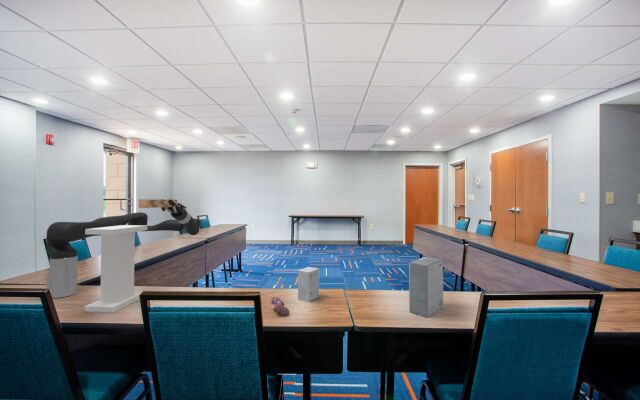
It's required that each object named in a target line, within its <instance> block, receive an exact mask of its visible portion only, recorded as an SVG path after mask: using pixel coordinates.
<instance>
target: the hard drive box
mask: <svg viewBox="0 0 640 400" xmlns="http://www.w3.org/2000/svg"><path fill="white" fill-rule="evenodd" d="M443 265H444V264H443V259H442V258H437V257H431V256H424V257H423V256H422V257H421V258H418V259H415V260H413V261H410V262H408V290H409V291H408V298H409V299H408V301H409V302H408V303H409V305H408V309H409V310H408V311H409V313H410V314H413V315H417V316H420V317H423V318H429V317H430V316H432V315H433V314H436V312H438V311H439V310H441V309H442V308H444V270H443V269H444V266H443Z"/></svg>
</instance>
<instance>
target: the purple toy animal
mask: <svg viewBox="0 0 640 400" xmlns="http://www.w3.org/2000/svg"><path fill="white" fill-rule="evenodd" d="M270 300H271V301H270V305H274V308H275V310H276V313H278V315H280V314H281V315H283V316H289V314H290V312H291V311H290V310H289V309H288V307H285V303H284V301H283V300H281V298H280V297H278V296H276V295H275V296H272V297H271V298H270Z"/></svg>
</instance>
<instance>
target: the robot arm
mask: <svg viewBox="0 0 640 400" xmlns="http://www.w3.org/2000/svg"><path fill="white" fill-rule="evenodd" d="M160 200H164V199H163V198H161V199H160ZM168 200H169V201H168V203H169V204H170V205H171V206H173V207H160V209H161V211H162V212H166V211H167V212H168V213H170V216H171V217H172V218H173V219H167V220H164V221H161V222H159V223H156V224H154V225H148V221H149V218H148V217H149V216H148V214H147V213H146V212H141V211H139V212H131V213H127V214H123V215H122V214H121V215H115V216H105V217H98V218H96V219H94V220H92V221H84V222H83V221H79V222H78V221H77V222H76V221H75V222H74V221H57V222H53V223H51V224H50V225H48V228H47V230H46V250H47V253H48V254H49V274H48V275H47V276H46V290H47V289H50V290H51V294H52V296H53V298H52V299H59V298H66V297H70V296H73V295H76V294H77V293H78V255H79V254H78V253H79V252H78V250H77V249H76V248H74V247H73V246H72V245H71V244H70V243H73V242H78V241H81V240H84V239H87V238H91V237H98V236H101V235H97V234H85V229H91V228H101V227H110V226H119V225H147V230H143V231H142V232H160V231H161V232H163V231H165V232H166V231H169V232H183V231H184V230H185V232H186V233H187V234H188V235H190V236H196V235H198V234H199V233H200V229H201V224H202V223H201V220H200V219H199V218H194V217H193V216H192V215H191V214H190V213H189V212H188V211H187V207H186V206H185V205H183V204H181V203H180V202H177V203H175V202H174V201H172V200H173V199H168Z"/></svg>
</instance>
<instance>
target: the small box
mask: <svg viewBox="0 0 640 400" xmlns="http://www.w3.org/2000/svg"><path fill="white" fill-rule="evenodd" d="M318 298H320V268H318V267H314V266H313V267H311V266H307V267H304V268H300V269H298V270H297V300H299V301H302V302H303V301H304V302H305V303H310V302H312V301H314V300H316V299H318Z"/></svg>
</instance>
